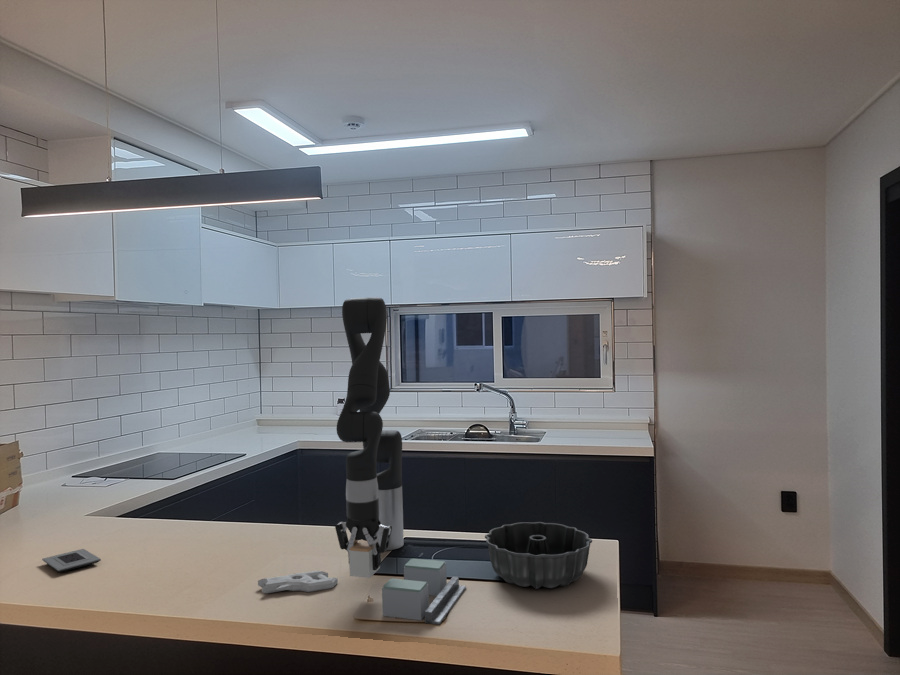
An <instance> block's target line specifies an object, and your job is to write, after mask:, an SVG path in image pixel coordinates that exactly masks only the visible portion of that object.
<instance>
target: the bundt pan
mask: <svg viewBox="0 0 900 675" xmlns="http://www.w3.org/2000/svg"><path fill="white" fill-rule="evenodd" d="M484 539H485V540H486V541H485V542H486V545H487V549H488V556H489V559H490V564H491V567H492V569H493V571H494V572H495V574H497V576H499V577H500V578H502V579H503V580H504V581H505V582H506V583H508V584H511V585H512V584H516V585H517V586H519V587H523V588H524V587H525V588H526V587H529V586H532V587H533V588H534V589H535V590H538V589H540V588H541V587H543V588H547V589H555V588H556V587H558V586H559V587H566V586H568V585H570V584H571V583H572V582H575V581H577V580H578V579H579V578H580V577H581V576H582V575H583V573H584V571H585V569H586V568H587V566H588V560H589V554H590V547H591V543H593V539H592V538H590V536H589V534H588V533H586V532H585V531H582V530H579V529H578V528H576V527H574V526H568V525H565V524H562V523H561V524H560V523H555V522H542V521H535V522H525V521H524V522H515V523H511V524H502V526H499V527H494V528H492V529H490V530H489V531H488V533H487V534H485V535H484Z"/></svg>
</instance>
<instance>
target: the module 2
mask: <svg viewBox="0 0 900 675" xmlns="http://www.w3.org/2000/svg"><path fill="white" fill-rule="evenodd" d="M447 578H448V577H447V563H446V561H445V560H435V559H434V560H431V559H422V558H421V559H419V558H410V560H409V561H408V562H406V563H405V564H404V567H403V580H412V581H422V582H427V584H428V595H429V596H433V597H434V596H435V597H437V596H438V594H439V593H440V592H441V591H442V589H443V588H444V587H445V586H446V584H447V583H448V582H447V580H448V579H447Z"/></svg>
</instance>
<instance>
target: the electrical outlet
mask: <svg viewBox="0 0 900 675" xmlns="http://www.w3.org/2000/svg"><path fill="white" fill-rule="evenodd" d="M41 560H42V561H43V562H44V563H45V564H47V565H48V566H50V567H51V568H53V569H54V570H56V571H57V572H58V573H63V572H68V571H71V570H75V569H79V568H83V567H87V566H89V565H90V566H91V565H93V564H98V563H99V562H100V561H101V560H102V559H101V558H100V557H98V556H97V555H95V554H93V553H91V552H90V551H89V550H87V549H85V548H81V549H77V550H72V551H69V552H64V553H60V554H56V555H52V556H48V557H43V558H41Z"/></svg>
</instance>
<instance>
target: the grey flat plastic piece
mask: <svg viewBox="0 0 900 675" xmlns="http://www.w3.org/2000/svg"><path fill="white" fill-rule="evenodd" d="M338 582H339V579H338V578H337V577H329V572H326V571H323V570H320V569H319V570H311V571H304V572H297V573H292V574H287V575H279V576H274V577H267V578H266V577H265V578H260V579H259V580H257V586H258V587H260V588H261V593H263V594H271V593H277V592H282V591H291V592H300V591H301V592H304V593H305V592H307V593H311V592H312V593H314V592H317V591H318V592H319V591H323V590H329V589H333V588H334V587H335V586H336V585H337V584H338Z"/></svg>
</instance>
